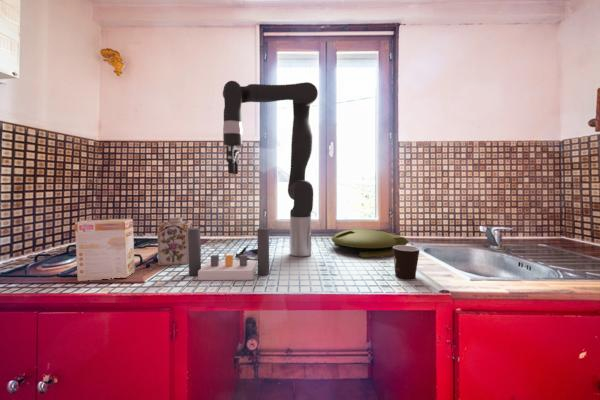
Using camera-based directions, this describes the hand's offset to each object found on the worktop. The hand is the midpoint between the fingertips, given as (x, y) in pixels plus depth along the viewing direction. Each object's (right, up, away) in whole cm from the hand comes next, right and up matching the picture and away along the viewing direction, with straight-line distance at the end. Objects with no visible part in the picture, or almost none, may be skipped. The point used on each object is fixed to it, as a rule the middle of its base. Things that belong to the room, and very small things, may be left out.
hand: (233, 173), depth 116 cm
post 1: (-10, -37, -16) cm, 42 cm away
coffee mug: (+65, -37, -17) cm, 77 cm away
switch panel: (+2, -37, -16) cm, 40 cm away
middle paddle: (+2, -34, -16) cm, 38 cm away
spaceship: (+60, -35, +22) cm, 73 cm away
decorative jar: (-23, -36, 0) cm, 43 cm away
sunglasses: (+6, -36, +7) cm, 37 cm away
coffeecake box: (-38, -37, -19) cm, 57 cm away
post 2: (+14, -37, -16) cm, 43 cm away
